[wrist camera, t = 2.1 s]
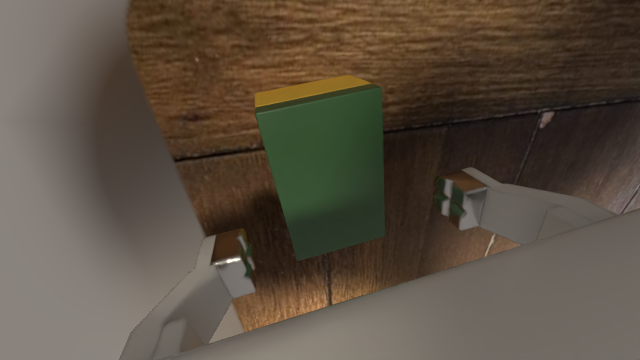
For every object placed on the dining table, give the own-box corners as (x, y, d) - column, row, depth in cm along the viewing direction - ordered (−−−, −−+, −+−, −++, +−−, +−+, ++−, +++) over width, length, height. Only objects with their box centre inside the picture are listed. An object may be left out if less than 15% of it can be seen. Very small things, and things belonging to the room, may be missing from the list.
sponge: (254, 93, 13) (254, 113, 9) (349, 74, 13) (382, 86, 10) (288, 216, 17) (297, 261, 13) (359, 197, 17) (385, 236, 14)
